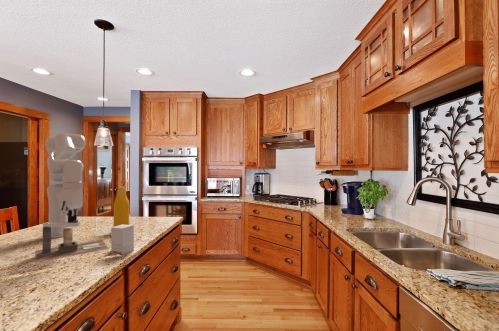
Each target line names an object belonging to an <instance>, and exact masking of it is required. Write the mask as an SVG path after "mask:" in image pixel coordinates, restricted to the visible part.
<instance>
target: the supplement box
mask: <svg viewBox="0 0 499 331" xmlns="http://www.w3.org/2000/svg"><path fill="white" fill-rule="evenodd" d="M134 227H135V226H134V225H132V224H129V225H124V224H122V225H119V226H115V227H114V226H112V227H110V230H111V233H110V240H111V242H110V243H111V250H110V251H112V252H115V253H116V252H117V253H116V254H117V255H125V254H127V253H130V252H133V251H134V250H135V249H134V248H135V246H134V245H135V236H134V235H135V232H134V231H135V230H134V229H135V228H134Z"/></svg>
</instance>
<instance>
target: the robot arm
mask: <svg viewBox="0 0 499 331" xmlns="http://www.w3.org/2000/svg"><path fill="white" fill-rule="evenodd" d="M44 144H45V145H44V146H45V150H46V152H47V154H48V156H47V158H46V164H47V170H48V172H49V175H50V179H51V181H53V182H62V183H54V184H50V185H49V186H47V189H46V194H47V200H48V222H73V220H78V217H77V216H78V213H79V211H81V210H82V207H84V206H83V205H84V195H83V194H84V193H83V172H84V164H83V162H82V161H81V160H77V159H72V158H73V157H75V155H76V153H80V152H82V151H83V150H84V149H85V147H86V144H87V143H86V138H85V137H84V136H83V135H81V134H78V133H77V134H75V133H66V132H65V133H58V134H56V135H55V136H53V137H48V138H46V139H45V143H44ZM63 228H66V227H51V239H56V238H63Z"/></svg>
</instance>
